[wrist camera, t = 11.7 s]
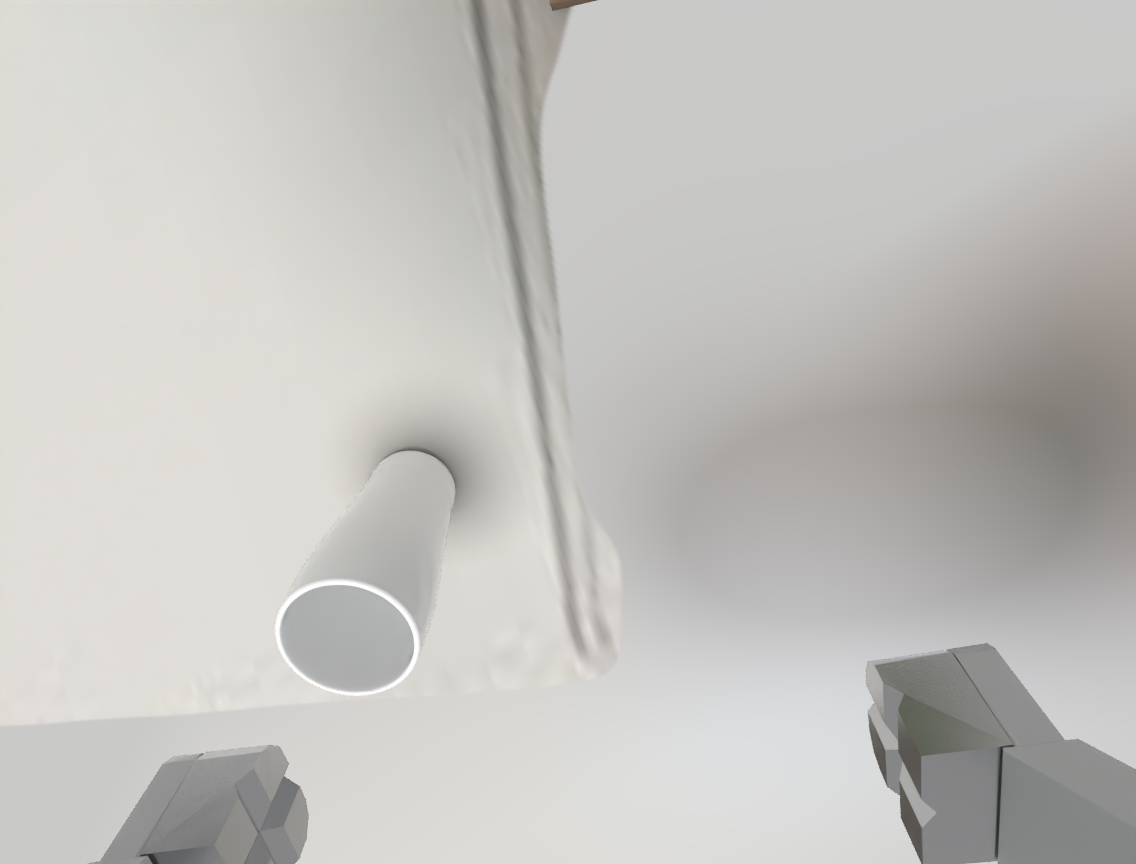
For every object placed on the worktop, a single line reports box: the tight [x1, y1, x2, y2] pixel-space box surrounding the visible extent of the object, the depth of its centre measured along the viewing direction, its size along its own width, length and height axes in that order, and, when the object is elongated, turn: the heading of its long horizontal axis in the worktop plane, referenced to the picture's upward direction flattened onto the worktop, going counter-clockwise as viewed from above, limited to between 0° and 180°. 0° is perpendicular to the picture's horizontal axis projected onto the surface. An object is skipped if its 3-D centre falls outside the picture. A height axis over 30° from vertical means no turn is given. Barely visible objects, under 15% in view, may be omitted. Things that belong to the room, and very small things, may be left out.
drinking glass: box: [275, 451, 456, 696], centre depth 41 cm, size 7×7×15 cm
